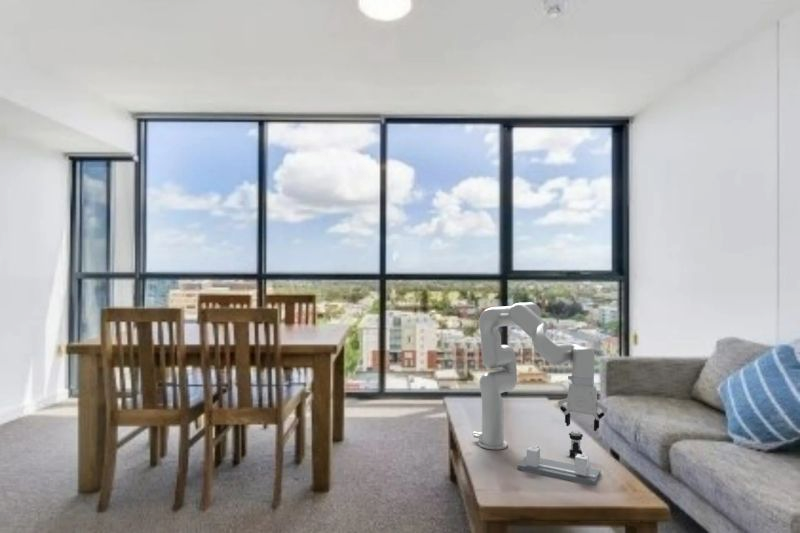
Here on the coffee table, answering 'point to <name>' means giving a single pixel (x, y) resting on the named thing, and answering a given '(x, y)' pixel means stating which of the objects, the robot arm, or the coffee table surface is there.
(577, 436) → the push button
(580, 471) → the sliding block
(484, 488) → the coffee table surface
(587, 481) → the plate
